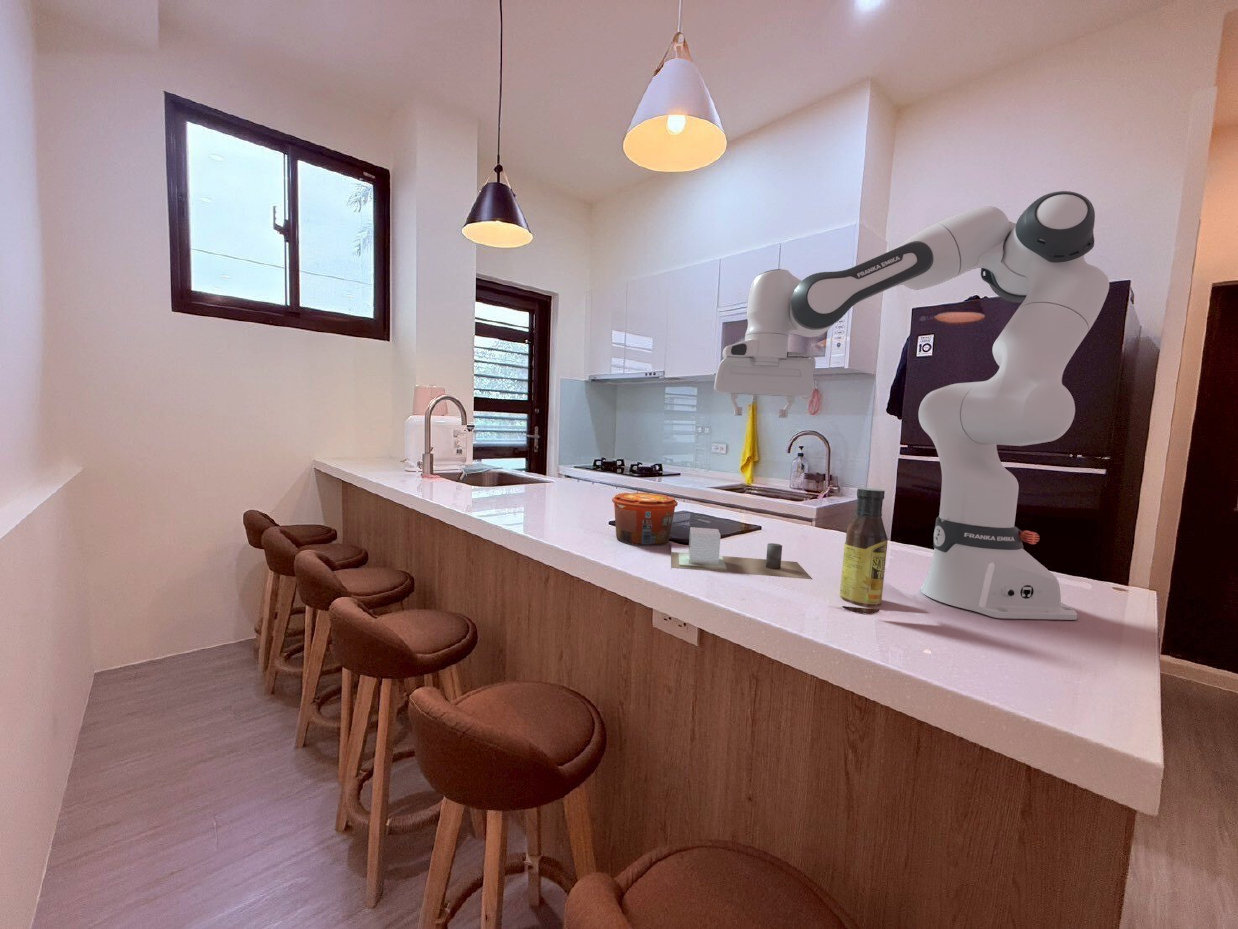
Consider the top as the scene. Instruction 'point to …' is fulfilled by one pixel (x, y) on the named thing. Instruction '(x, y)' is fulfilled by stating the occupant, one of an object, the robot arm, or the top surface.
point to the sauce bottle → (865, 553)
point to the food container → (643, 518)
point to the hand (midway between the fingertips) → (760, 416)
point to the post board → (747, 564)
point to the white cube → (704, 546)
